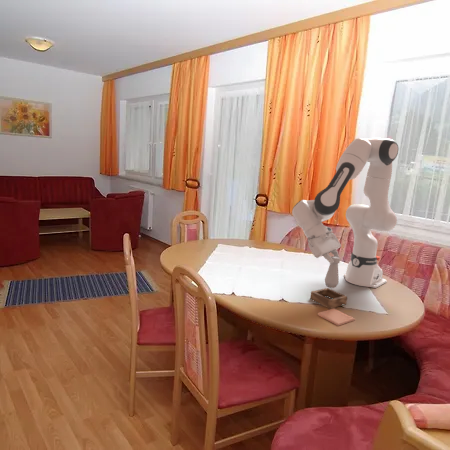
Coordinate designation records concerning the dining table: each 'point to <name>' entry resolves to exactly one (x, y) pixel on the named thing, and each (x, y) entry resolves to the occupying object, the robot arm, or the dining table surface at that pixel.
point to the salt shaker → (332, 274)
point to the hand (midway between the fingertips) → (335, 261)
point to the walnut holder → (329, 303)
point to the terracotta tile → (336, 316)
